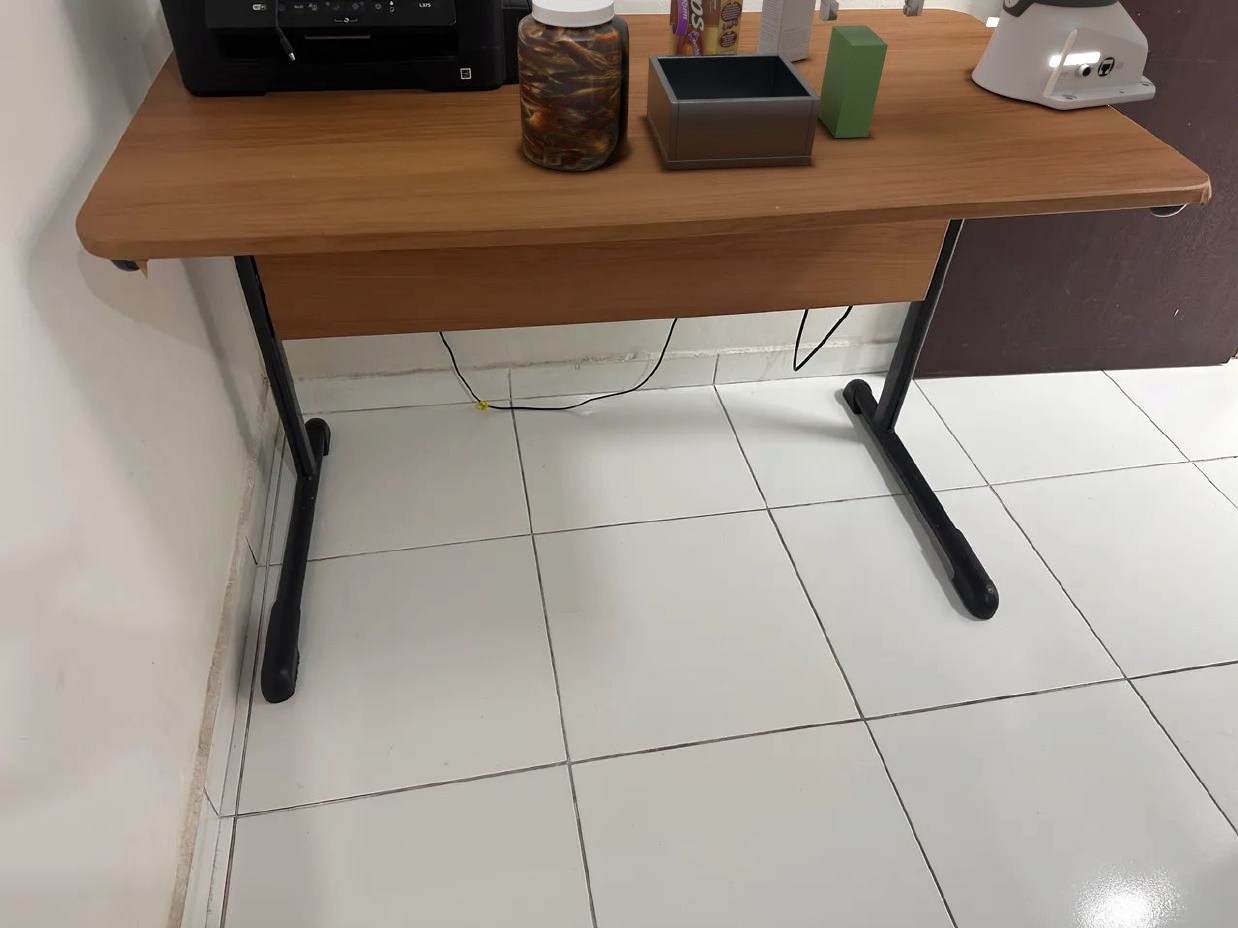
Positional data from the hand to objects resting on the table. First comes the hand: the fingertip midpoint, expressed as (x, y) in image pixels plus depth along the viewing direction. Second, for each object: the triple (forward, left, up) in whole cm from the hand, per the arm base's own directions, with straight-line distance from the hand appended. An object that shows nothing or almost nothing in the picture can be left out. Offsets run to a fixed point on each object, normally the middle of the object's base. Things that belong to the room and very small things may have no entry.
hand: (869, 17), depth 94 cm
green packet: (+1, 0, -12) cm, 12 cm away
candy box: (+15, -16, -12) cm, 25 cm away
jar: (+33, +4, -12) cm, 35 cm away
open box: (+16, +3, -12) cm, 20 cm away
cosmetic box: (+2, -24, -12) cm, 27 cm away
